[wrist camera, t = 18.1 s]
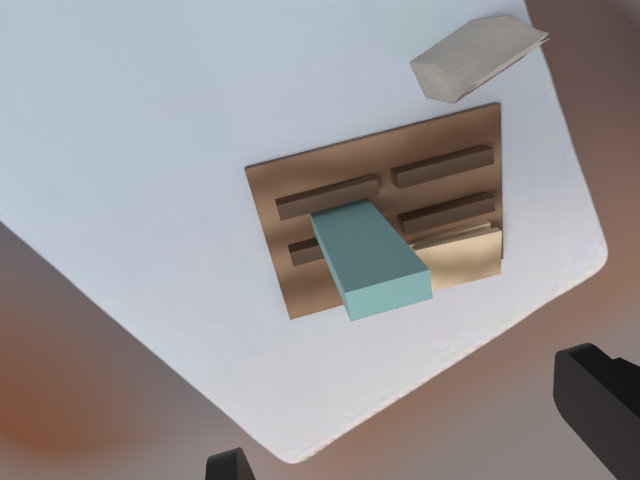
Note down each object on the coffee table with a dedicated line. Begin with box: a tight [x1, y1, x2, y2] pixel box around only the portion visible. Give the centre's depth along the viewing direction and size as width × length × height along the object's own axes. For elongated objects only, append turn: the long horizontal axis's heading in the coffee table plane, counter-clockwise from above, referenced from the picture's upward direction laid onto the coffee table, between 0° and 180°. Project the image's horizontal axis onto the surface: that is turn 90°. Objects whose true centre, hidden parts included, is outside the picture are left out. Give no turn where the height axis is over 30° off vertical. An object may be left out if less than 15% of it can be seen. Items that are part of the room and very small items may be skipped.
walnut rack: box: [245, 103, 503, 320], centre depth 43 cm, size 18×26×3 cm
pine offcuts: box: [406, 219, 502, 291], centre depth 46 cm, size 6×10×3 cm, turn 102°
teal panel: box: [310, 198, 433, 321], centre depth 36 cm, size 2×6×16 cm, turn 102°
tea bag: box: [409, 15, 549, 104], centre depth 35 cm, size 4×7×10 cm, turn 122°
